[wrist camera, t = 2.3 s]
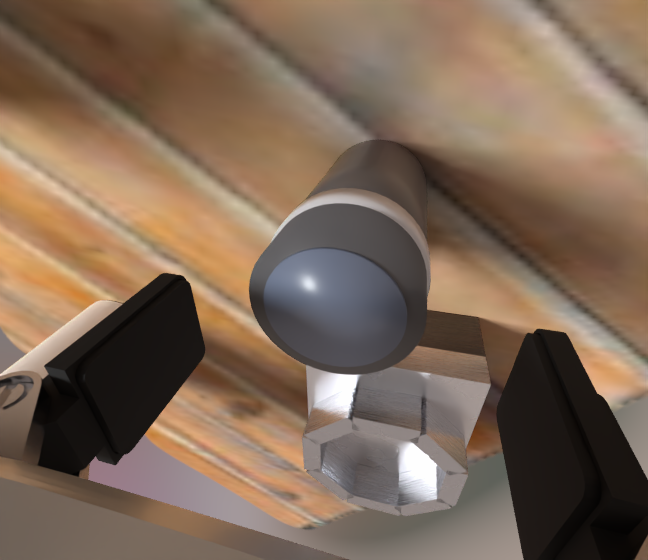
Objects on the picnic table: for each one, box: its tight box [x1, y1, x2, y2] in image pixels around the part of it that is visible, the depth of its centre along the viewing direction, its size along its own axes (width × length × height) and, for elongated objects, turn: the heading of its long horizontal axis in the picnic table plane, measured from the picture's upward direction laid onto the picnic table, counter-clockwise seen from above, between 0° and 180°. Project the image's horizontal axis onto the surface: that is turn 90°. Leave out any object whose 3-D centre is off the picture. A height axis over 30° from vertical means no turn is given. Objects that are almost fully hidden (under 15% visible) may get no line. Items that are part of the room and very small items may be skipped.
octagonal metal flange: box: [302, 310, 491, 516], centre depth 22 cm, size 12×9×7 cm
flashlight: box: [249, 140, 431, 375], centre depth 14 cm, size 5×5×10 cm
